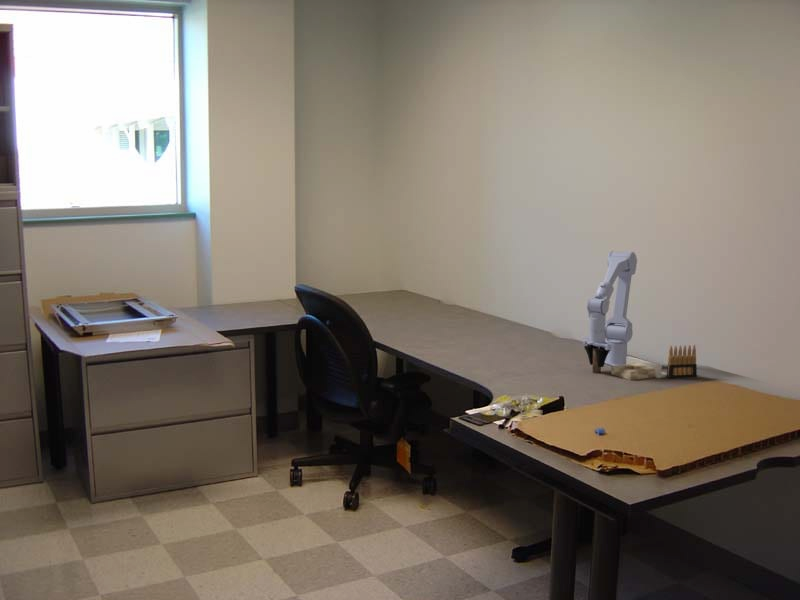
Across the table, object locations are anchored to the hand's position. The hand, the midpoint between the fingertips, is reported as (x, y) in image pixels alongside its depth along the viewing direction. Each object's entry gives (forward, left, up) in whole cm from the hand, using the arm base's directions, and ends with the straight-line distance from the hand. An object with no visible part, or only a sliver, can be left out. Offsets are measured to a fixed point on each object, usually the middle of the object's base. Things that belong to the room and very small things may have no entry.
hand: (596, 365), depth 322 cm
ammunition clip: (+21, +22, -3) cm, 31 cm away
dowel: (0, 0, -3) cm, 3 cm away
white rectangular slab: (+9, +17, -3) cm, 19 cm away
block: (+10, +9, -3) cm, 14 cm away
